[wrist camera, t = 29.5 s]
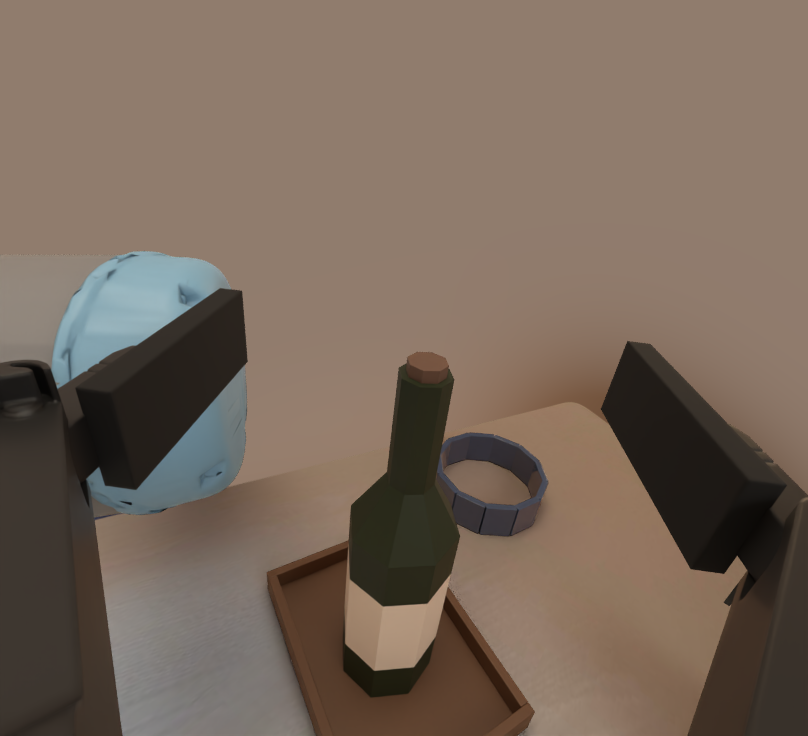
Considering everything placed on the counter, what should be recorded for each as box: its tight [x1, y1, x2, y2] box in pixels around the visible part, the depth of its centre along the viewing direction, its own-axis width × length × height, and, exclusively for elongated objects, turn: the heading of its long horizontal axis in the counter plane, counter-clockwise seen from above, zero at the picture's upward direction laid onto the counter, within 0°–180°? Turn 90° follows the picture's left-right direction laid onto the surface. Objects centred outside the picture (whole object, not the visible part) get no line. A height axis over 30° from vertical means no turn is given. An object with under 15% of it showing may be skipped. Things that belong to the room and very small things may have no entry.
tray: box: [267, 540, 535, 736], centre depth 40 cm, size 22×16×3 cm
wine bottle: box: [343, 352, 460, 698], centre depth 33 cm, size 8×8×30 cm
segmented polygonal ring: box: [436, 432, 548, 536], centre depth 59 cm, size 15×15×4 cm
